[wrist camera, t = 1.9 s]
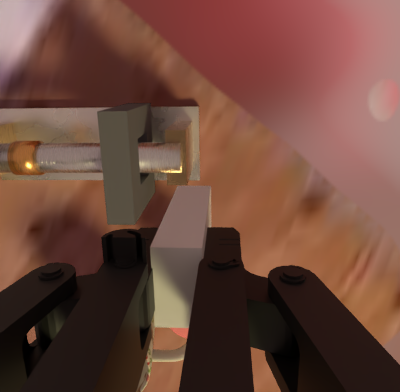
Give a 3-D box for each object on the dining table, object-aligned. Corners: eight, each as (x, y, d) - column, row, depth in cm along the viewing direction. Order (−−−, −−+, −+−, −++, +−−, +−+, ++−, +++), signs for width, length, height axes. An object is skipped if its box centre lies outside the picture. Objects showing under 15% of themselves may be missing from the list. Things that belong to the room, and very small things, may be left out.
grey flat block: (133, 191, 35) (107, 224, 27) (127, 103, 33) (97, 111, 25) (155, 191, 35) (134, 224, 27) (150, 103, 33) (126, 111, 25)
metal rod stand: (6, 177, 39) (-51, 203, 31) (-6, 108, 37) (-70, 116, 29) (200, 178, 38) (193, 205, 30) (199, 105, 36) (191, 114, 28)
